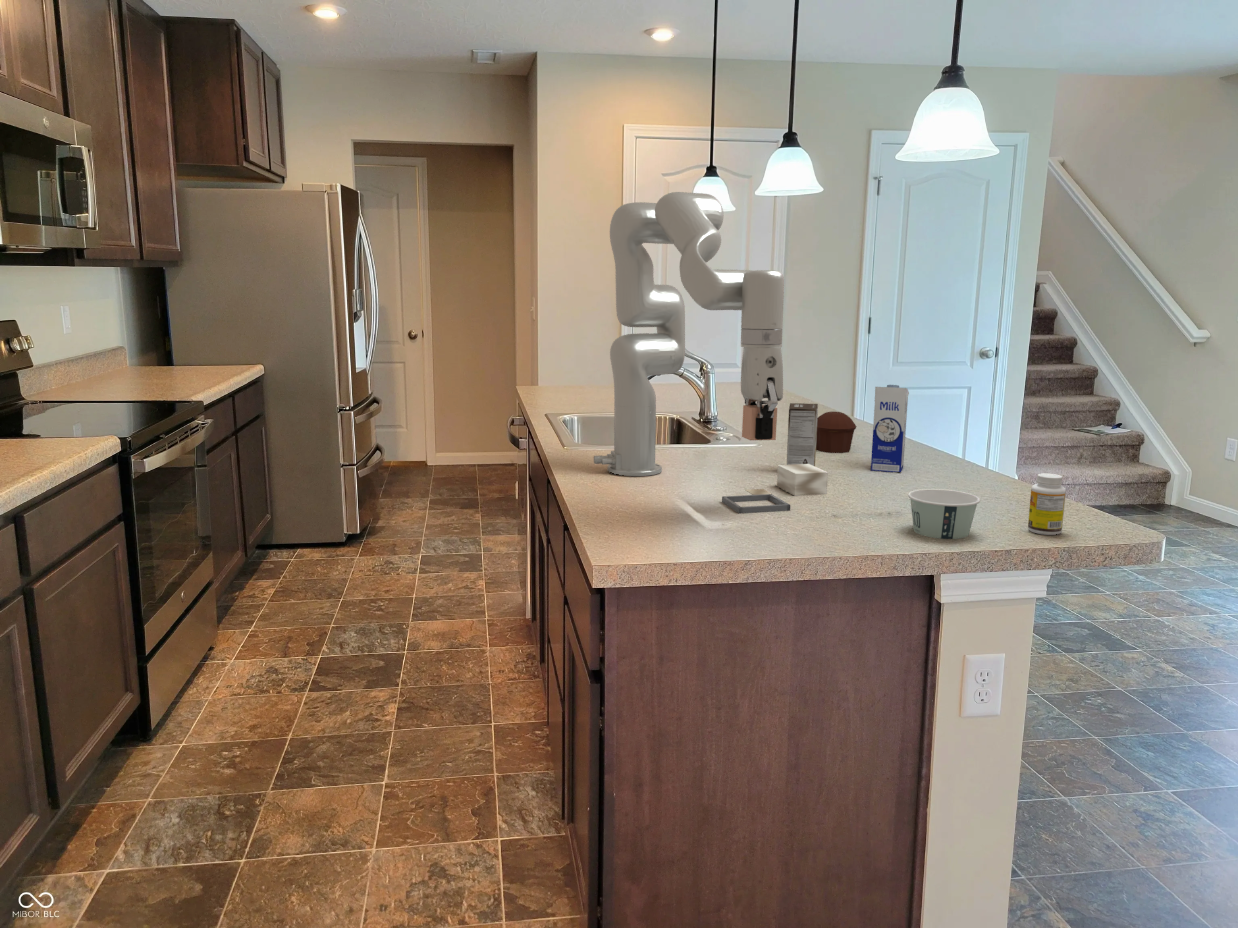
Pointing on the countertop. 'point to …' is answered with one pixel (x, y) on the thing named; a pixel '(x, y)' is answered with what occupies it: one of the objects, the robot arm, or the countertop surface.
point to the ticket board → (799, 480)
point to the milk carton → (889, 428)
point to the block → (754, 422)
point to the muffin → (834, 432)
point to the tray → (754, 509)
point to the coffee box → (802, 433)
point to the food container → (942, 512)
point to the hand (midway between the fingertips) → (758, 435)
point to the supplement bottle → (1047, 505)
